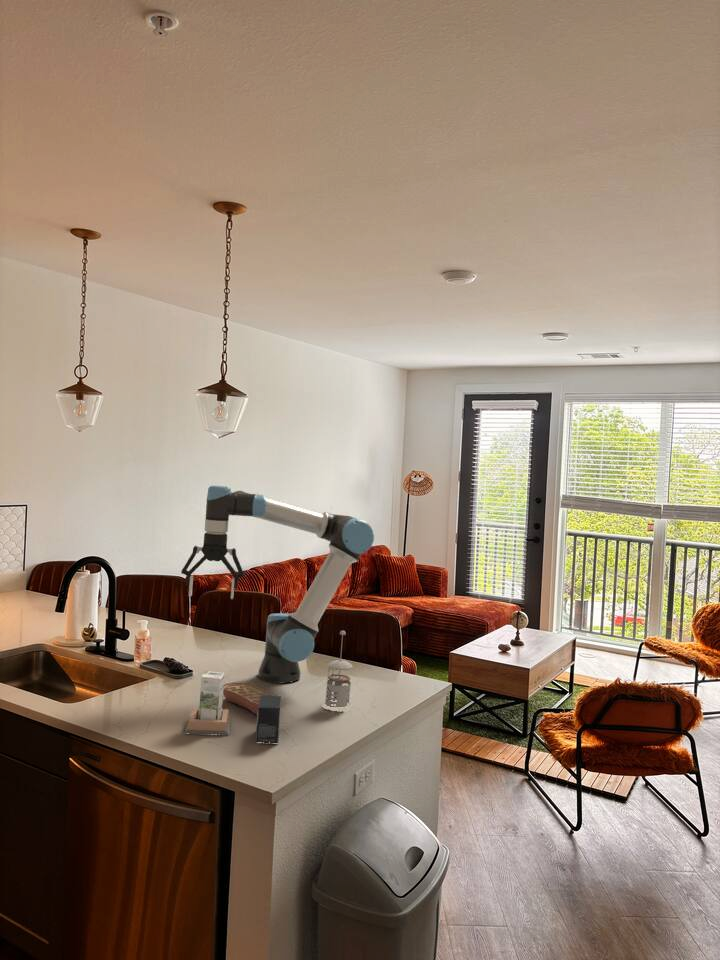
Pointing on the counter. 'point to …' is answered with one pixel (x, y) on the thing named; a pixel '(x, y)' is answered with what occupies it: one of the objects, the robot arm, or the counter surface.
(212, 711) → the syrup box
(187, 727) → the pink square open tray
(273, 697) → the small box
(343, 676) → the french press
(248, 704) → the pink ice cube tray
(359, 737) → the counter surface
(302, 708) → the counter surface
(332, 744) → the counter surface
